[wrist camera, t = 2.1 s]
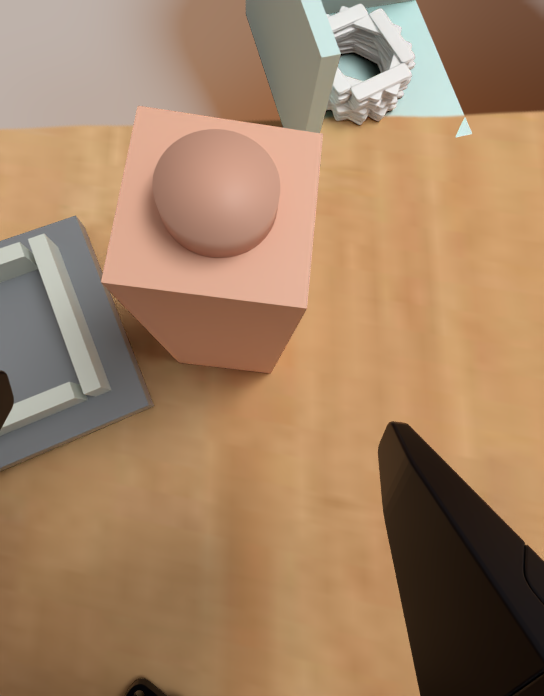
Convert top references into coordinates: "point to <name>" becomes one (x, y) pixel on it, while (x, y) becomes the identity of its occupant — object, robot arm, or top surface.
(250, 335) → the pillar
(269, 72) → the l-shaped corner panel
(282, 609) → the top surface
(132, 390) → the socket plate
